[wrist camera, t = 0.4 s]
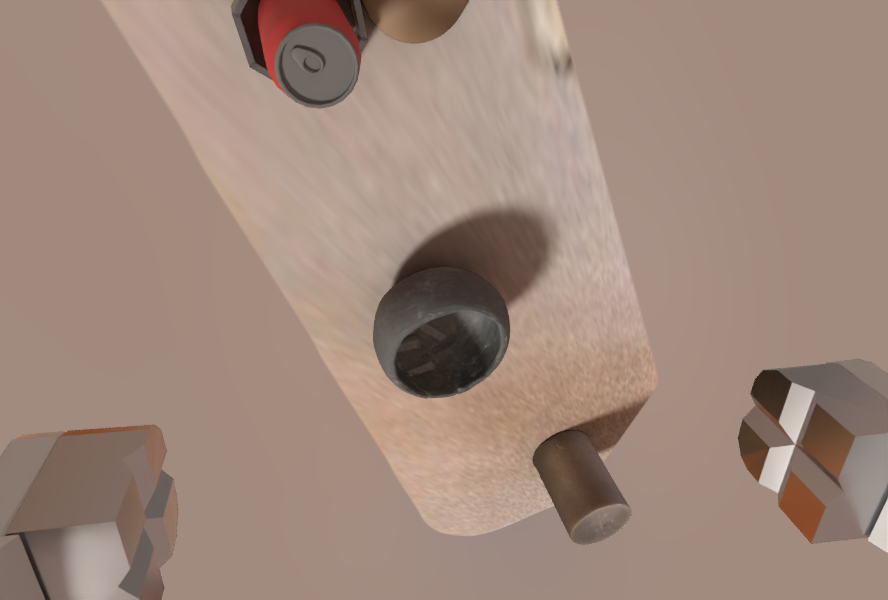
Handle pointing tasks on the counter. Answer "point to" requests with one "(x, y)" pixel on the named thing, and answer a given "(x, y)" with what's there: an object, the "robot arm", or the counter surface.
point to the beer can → (309, 50)
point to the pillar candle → (581, 487)
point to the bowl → (440, 332)
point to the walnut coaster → (414, 17)
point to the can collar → (259, 63)
